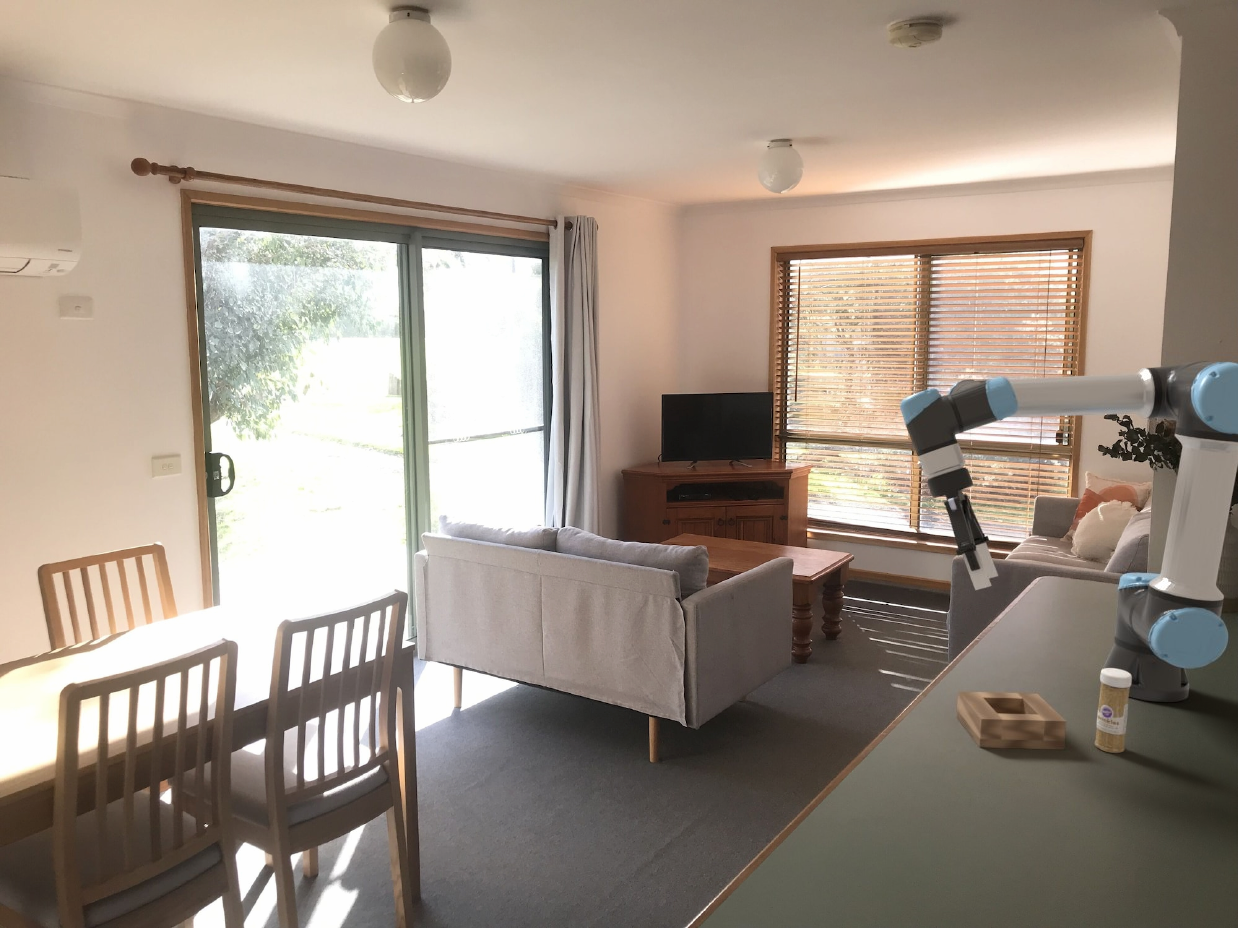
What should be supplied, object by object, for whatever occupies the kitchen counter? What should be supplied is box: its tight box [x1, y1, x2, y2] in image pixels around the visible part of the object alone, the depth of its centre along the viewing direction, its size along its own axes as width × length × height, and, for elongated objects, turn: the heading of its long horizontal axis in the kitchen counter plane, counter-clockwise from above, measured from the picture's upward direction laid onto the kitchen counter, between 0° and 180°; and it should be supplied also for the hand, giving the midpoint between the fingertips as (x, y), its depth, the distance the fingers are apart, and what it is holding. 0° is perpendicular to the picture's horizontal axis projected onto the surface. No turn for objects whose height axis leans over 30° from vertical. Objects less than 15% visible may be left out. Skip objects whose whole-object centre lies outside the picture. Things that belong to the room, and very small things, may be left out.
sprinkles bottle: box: [1094, 668, 1132, 754], centre depth 154 cm, size 5×5×14 cm
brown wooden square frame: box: [956, 691, 1067, 750], centre depth 160 cm, size 14×12×5 cm
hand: (987, 582), depth 166 cm, fingers open, 13 cm apart
